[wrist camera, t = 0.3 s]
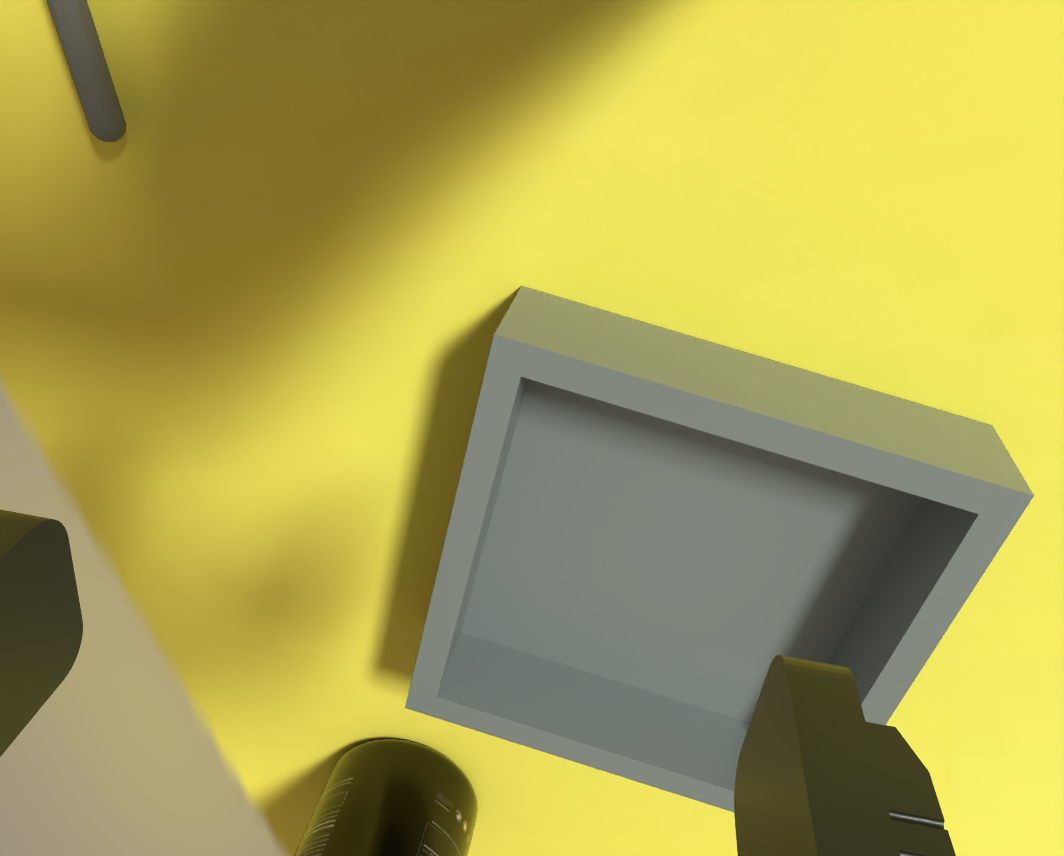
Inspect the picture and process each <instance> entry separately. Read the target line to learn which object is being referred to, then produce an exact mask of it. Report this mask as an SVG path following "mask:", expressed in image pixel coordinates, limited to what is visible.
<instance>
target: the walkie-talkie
mask: <svg viewBox="0 0 1064 856" xmlns="http://www.w3.org/2000/svg"><path fill="white" fill-rule="evenodd" d="M47 3H48V6H49V9H50V12H51V15H52V18H53V21H54V24H55V27H56V30H57V33H58V36H59V39H60V42H61V45H62V48H63V51H64V54H65V57H66V60H67V63H68V66H69V69H70V72H71V75H72V78H73V81H74V84H75V87H76V90H77V93H78V96H79V99H80V102H81V105H82V108H83V111H84V114H85V117H86V120H87V123H88V126H89V129H90V131H91V132H92V133H93V135H95V136H96V137H97V138H98V139H100V140H102V141H105V142H115V141H117V140H119V139H121V137H122V136H123V134H124V133H125V132H126V123H125V120H124V116H123V113H122V110H121V107H120V104H119V101H118V97H117V94H116V91H115V88H114V85H113V82H112V79H111V75H110V72H109V69H108V66H107V63H106V60H105V57H104V53H103V50H102V47H101V44H100V41H99V38H98V34H97V31H96V28H95V25H94V22H93V19H92V16H91V12H90V9H89V6H88V3H87V0H47Z"/></svg>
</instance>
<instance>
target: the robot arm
mask: <svg viewBox="0 0 1064 856" xmlns="http://www.w3.org/2000/svg"><path fill="white" fill-rule="evenodd" d="M82 633H83V623H82V615H81V609H80V603H79V597H78V591H77V586H76V580H75V574H74V568H73V562H72V556H71V551H70V544H69V539H68V535H67V531H66V529H65V527H64V526H63V525H62V523H60V522H59V521H57V520H54V519H48V518H43V517H37V516H32V515H26V514H20V513H16V512H10V511H5V510H0V757H1V755H2V754H3V753H4V752H5V751H6V749H7V748H8V747H9V746H10V744H11V743H12V742H13V741H14V739H15V738H16V737H17V736H18V735H19V733H20V732H21V731H22V730H23V729H24V727H25V726H26V725H27V724H28V723H29V721H30V720H31V719H32V718H33V716H34V715H35V714H36V713H37V712H38V710H39V709H40V708H41V706H42V705H43V704H44V703H45V702H46V701H47V699H48V698H49V697H50V696H51V694H52V693H53V692H54V691H55V690H56V688H57V687H58V686H59V685H60V684H61V682H62V681H63V680H64V678H65V677H66V676H67V674H68V673H69V671H70V670H71V668H72V666H73V664H74V662H75V659H76V657H77V655H78V652H79V648H80V644H81V640H82ZM734 814H735V826H736V839H737V851H738V856H956V855H955V852H954V849H953V845H952V842H951V839H950V836H949V833H948V830H944V817H943V814H942V811H941V808H940V805H939V802H938V799H937V796H936V792H935V789H934V786H933V783H932V780H931V777H930V774H929V771H928V770H927V769H926V767H925V766H924V765H923V763H922V762H921V761H920V759H919V758H918V757H917V755H916V754H915V753H914V751H913V750H912V749H911V747H910V746H909V745H908V743H907V742H906V741H905V739H904V738H903V737H902V735H901V734H900V733H899V731H898V730H897V729H896V727H892V726H886V725H881V724H876V723H870V722H866V721H865V717H864V714H863V710H862V706H861V702H860V698H859V694H858V691H857V687H856V683H855V679H854V676H853V674H852V672H851V671H850V670H849V668H847V667H843V666H837V665H832V664H826V663H821V662H815V661H810V660H805V659H799V658H794V657H788V656H783V655H777V656H775V657H774V659H773V660H772V662H771V664H770V667H769V669H768V672H767V675H766V678H765V681H764V684H763V687H762V689H761V692H760V695H759V698H758V701H757V704H756V707H755V710H754V713H753V716H752V718H751V721H750V724H749V727H748V730H747V733H746V736H745V739H744V742H743V745H742V748H741V751H740V754H739V759H738V764H737V770H736V777H735V788H734Z"/></svg>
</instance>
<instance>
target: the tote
mask: <svg viewBox="0 0 1064 856" xmlns="http://www.w3.org/2000/svg"><path fill="white" fill-rule="evenodd" d="M1033 496H1034V495H1033V493H1032V491H1031V490H1030V488H1029V486H1028V485H1027V483H1026V481H1025V480H1024V478H1023V476H1022V475H1021V473H1020V471H1019V470H1018V468H1017V466H1016V464H1015V463H1014V461H1013V459H1012V458H1011V456H1010V454H1009V453H1008V451H1007V449H1006V448H1005V446H1004V444H1003V443H1002V441H1001V439H1000V438H999V436H998V434H997V433H996V431H995V429H994V428H993V426H992V425H989V424H986V423H982V422H979V421H975V420H972V419H969V418H965V417H962V416H959V415H955V414H952V413H948V412H945V411H942V410H938V409H935V408H932V407H928V406H925V405H921V404H918V403H915V402H911V401H908V400H905V399H901V398H898V397H894V396H891V395H888V394H884V393H881V392H878V391H874V390H871V389H868V388H864V387H861V386H857V385H854V384H851V383H847V382H844V381H841V380H837V379H834V378H830V377H827V376H824V375H820V374H817V373H814V372H810V371H807V370H803V369H800V368H797V367H793V366H790V365H787V364H783V363H780V362H776V361H773V360H770V359H766V358H763V357H760V356H756V355H753V354H749V353H746V352H743V351H739V350H736V349H733V348H729V347H726V346H722V345H719V344H716V343H712V342H709V341H706V340H702V339H699V338H696V337H692V336H689V335H685V334H682V333H679V332H675V331H672V330H669V329H665V328H662V327H658V326H655V325H652V324H648V323H645V322H642V321H638V320H635V319H631V318H628V317H625V316H621V315H618V314H615V313H611V312H608V311H604V310H601V309H598V308H594V307H591V306H588V305H584V304H581V303H577V302H574V301H571V300H567V299H564V298H561V297H557V296H554V295H550V294H547V293H544V292H540V291H537V290H534V289H530V288H527V287H524V286H521V288H520V289H519V291H518V293H517V295H516V296H515V298H514V300H513V302H512V303H511V305H510V307H509V309H508V310H507V312H506V314H505V316H504V317H503V319H502V321H501V323H500V325H499V326H498V328H497V330H496V332H495V333H494V336H493V341H492V345H491V349H490V353H489V357H488V362H487V366H486V370H485V374H484V378H483V383H482V387H481V391H480V395H479V399H478V404H477V408H476V412H475V416H474V420H473V425H472V429H471V433H470V437H469V441H468V446H467V450H466V454H465V458H464V462H463V467H462V471H461V475H460V479H459V483H458V488H457V492H456V496H455V500H454V504H453V509H452V513H451V517H450V521H449V525H448V530H447V534H446V538H445V542H444V546H443V551H442V555H441V559H440V563H439V567H438V572H437V576H436V580H435V584H434V588H433V593H432V597H431V601H430V605H429V609H428V614H427V618H426V622H425V626H424V630H423V635H422V639H421V643H420V647H419V651H418V656H417V660H416V664H415V668H414V672H413V677H412V681H411V685H410V689H409V693H408V698H407V702H406V706H405V708H407V709H410V710H413V711H417V712H420V713H423V714H426V715H429V716H432V717H435V718H439V719H442V720H445V721H448V722H451V723H454V724H458V725H461V726H464V727H467V728H470V729H473V730H476V731H480V732H483V733H486V734H489V735H492V736H495V737H499V738H502V739H505V740H508V741H511V742H514V743H517V744H521V745H524V746H527V747H530V748H533V749H536V750H539V751H543V752H546V753H549V754H552V755H555V756H558V757H562V758H565V759H568V760H571V761H574V762H577V763H580V764H584V765H587V766H590V767H593V768H596V769H599V770H602V771H606V772H609V773H612V774H615V775H618V776H621V777H625V778H628V779H631V780H634V781H637V782H640V783H643V784H647V785H650V786H653V787H656V788H659V789H662V790H665V791H669V792H672V793H675V794H678V795H681V796H684V797H688V798H691V799H694V800H697V801H700V802H703V803H706V804H710V805H713V806H716V807H719V808H722V809H725V810H728V811H732V812H734V788H735V777H736V770H737V764H738V759H739V754H740V751H741V748H742V745H743V742H744V739H745V736H746V733H747V730H748V727H749V724H750V721H751V718H752V716H753V713H754V710H755V707H756V704H757V701H758V698H759V695H760V692H761V689H762V687H763V684H764V681H765V678H766V675H767V672H768V669H769V667H770V664H771V662H772V660H773V659H774V657H775V656H777V655H783V656H788V657H794V658H799V659H805V660H810V661H815V662H821V663H826V664H832V665H837V666H843V667H847V668H849V670H850V671H851V672H852V674H853V676H854V679H855V683H856V687H857V691H858V694H859V698H860V702H861V706H862V710H863V714H864V717H865V721H866V722H870V723H876V724H881V725H886V723H887V722H888V720H889V718H890V717H891V715H892V714H893V712H894V711H895V709H896V708H897V706H898V705H899V703H900V702H901V700H902V698H903V697H904V695H905V694H906V692H907V691H908V689H909V688H910V686H911V685H912V683H913V681H914V680H915V678H916V677H917V675H918V674H919V672H920V671H921V669H922V668H923V666H924V665H925V663H926V661H927V660H928V658H929V657H930V655H931V654H932V652H933V651H934V649H935V648H936V646H937V644H938V643H939V641H940V640H941V638H942V637H943V635H944V634H945V632H946V631H947V629H948V627H949V626H950V624H951V623H952V621H953V620H954V618H955V617H956V615H957V614H958V612H959V611H960V609H961V607H962V606H963V604H964V603H965V601H966V600H967V598H968V597H969V595H970V594H971V592H972V590H973V589H974V587H975V586H976V584H977V583H978V581H979V580H980V578H981V577H982V575H983V574H984V572H985V570H986V569H987V567H988V566H989V564H990V563H991V561H992V560H993V558H994V557H995V555H996V553H997V552H998V550H999V549H1000V547H1001V546H1002V544H1003V543H1004V541H1005V540H1006V538H1007V537H1008V535H1009V533H1010V532H1011V530H1012V529H1013V527H1014V526H1015V524H1016V523H1017V521H1018V520H1019V518H1020V516H1021V515H1022V513H1023V512H1024V510H1025V509H1026V507H1027V506H1028V504H1029V503H1030V501H1031V500H1032V498H1033Z"/></svg>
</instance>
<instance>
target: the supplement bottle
mask: <svg viewBox="0 0 1064 856" xmlns="http://www.w3.org/2000/svg"><path fill="white" fill-rule="evenodd" d="M476 817H477V800H476V795H475V792H474V789H473V787H472V785H471V783H470V781H469V780H468V778H467V777H466V775H465V774H464V773H463V772H462V770H461V769H460V768H459V767H458V766H457V765H456V764H455V763H453V762H452V761H451V760H450V759H448V758H447V757H446V756H444V755H443V754H441V753H439V752H437V751H435V750H433V749H431V748H429V747H427V746H424V745H421V744H418V743H415V742H411V741H406V740H398V739H381V740H374V741H369V742H366V743H363V744H360V745H358V746H356V747H354V748H352V749H351V750H349V751H348V752H346V753H345V754H344V755H343V756H342V757H341V758H340V759H339V760H338V762H337V763H336V765H335V766H334V768H333V770H332V772H331V774H330V776H329V778H328V781H327V783H326V785H325V787H324V789H323V791H322V794H321V796H320V798H319V800H318V803H317V805H316V807H315V810H314V812H313V814H312V816H311V819H310V821H309V823H308V825H307V828H306V830H305V832H304V834H303V837H302V839H301V841H300V844H299V846H298V848H297V850H296V853H295V855H294V856H468V852H469V848H470V844H471V840H472V835H473V831H474V826H475V822H476Z"/></svg>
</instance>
